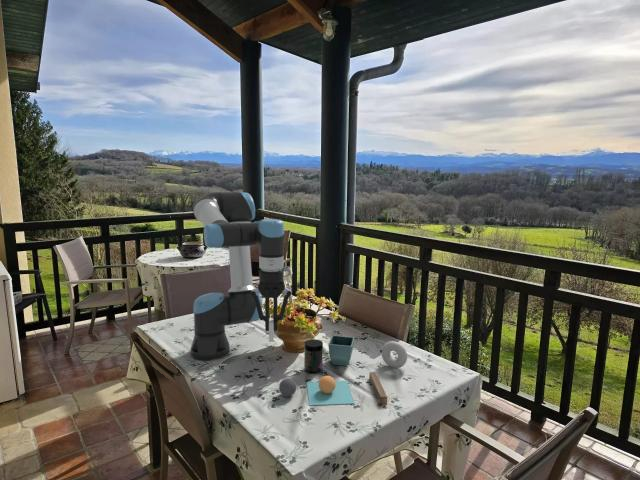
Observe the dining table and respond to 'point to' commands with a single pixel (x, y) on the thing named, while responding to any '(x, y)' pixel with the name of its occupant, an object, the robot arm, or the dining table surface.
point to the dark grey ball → (287, 387)
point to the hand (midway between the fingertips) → (271, 340)
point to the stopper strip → (378, 388)
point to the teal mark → (334, 398)
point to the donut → (398, 349)
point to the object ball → (327, 384)
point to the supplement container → (313, 356)
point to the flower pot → (340, 349)
